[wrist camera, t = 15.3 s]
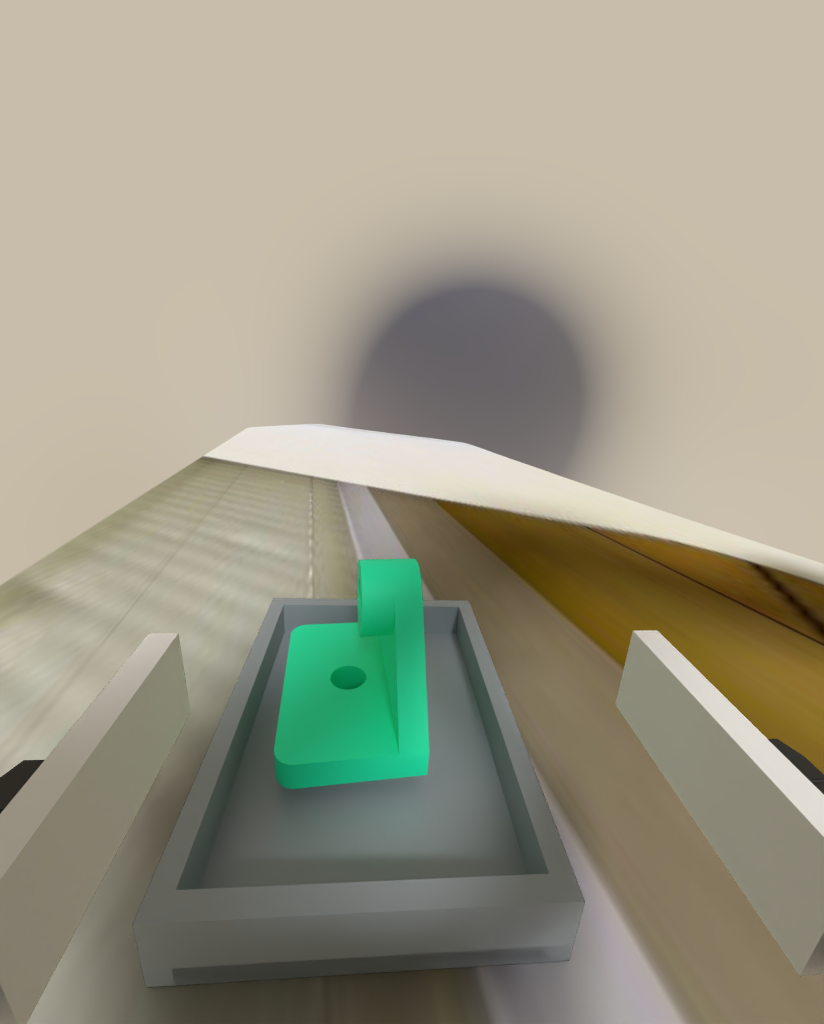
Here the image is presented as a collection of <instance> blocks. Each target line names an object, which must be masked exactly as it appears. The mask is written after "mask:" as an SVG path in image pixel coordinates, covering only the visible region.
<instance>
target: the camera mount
mask: <svg viewBox="0 0 824 1024" xmlns="http://www.w3.org/2000/svg"><path fill="white" fill-rule="evenodd" d="M357 611H358V623H335V624H310V625H302V626H299V627H297V628H295V629H294V630H293V631H292V632H291V637H290V644H289V651H288V658H287V664H286V671H285V678H284V685H283V692H282V699H281V705H280V712H279V719H278V726H277V733H276V740H275V746H274V759H275V776H276V780H277V781H278V783H279V784H280V785H281V786H283V787H285V788H289V789H298V788H308V787H317V786H327V785H336V784H346V783H355V782H365V781H374V780H384V779H393V778H403V777H412V776H422V775H427V771H428V760H429V734H428V711H427V688H426V664H425V641H424V618H423V595H422V581H421V574H420V569H419V565H418V562H417V560H416V559H368V560H359V562H358V575H357Z"/></svg>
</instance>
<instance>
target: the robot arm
mask: <svg viewBox="0 0 824 1024" xmlns="http://www.w3.org/2000/svg"><path fill="white" fill-rule="evenodd" d="M615 705H616V706H617V707H618V709H619V710H620V712H621V713H622V715H623V716H624V718H625V719H626V721H627V722H628V724H629V725H630V727H631V728H632V730H633V731H634V733H635V734H636V735H637V737H638V738H639V740H640V741H641V743H642V744H643V746H644V747H645V749H646V750H647V752H648V753H649V755H650V756H651V758H652V759H653V761H654V762H655V763H656V765H657V766H658V768H659V769H660V771H661V772H662V774H663V775H664V777H665V778H666V780H667V781H668V783H669V784H670V786H671V787H672V789H673V790H674V791H675V793H676V794H677V796H678V797H679V799H680V800H681V802H682V803H683V805H684V806H685V808H686V809H687V811H688V812H689V814H690V815H691V817H692V818H693V819H694V821H695V822H696V824H697V825H698V827H699V828H700V830H701V831H702V833H703V834H704V836H705V837H706V839H707V840H708V842H709V843H710V844H711V846H712V847H713V849H714V850H715V852H716V853H717V855H718V856H719V858H720V859H721V861H722V862H723V864H724V865H725V867H726V868H727V870H728V871H729V872H730V874H731V875H732V877H733V878H734V880H735V881H736V883H737V884H738V886H739V887H740V889H741V890H742V892H743V893H744V895H745V896H746V898H747V899H748V900H749V902H750V903H751V905H752V906H753V908H754V909H755V911H756V912H757V914H758V915H759V917H760V918H761V920H762V921H763V923H764V924H765V926H766V927H767V928H768V930H769V931H770V933H771V934H772V936H773V937H774V939H775V940H776V942H777V943H778V945H779V946H780V948H781V949H782V951H783V952H784V954H785V955H786V956H787V958H788V959H789V961H790V962H791V964H792V965H793V967H794V968H795V970H796V971H797V973H798V974H799V976H809V975H822V974H824V775H823V774H822V773H821V772H820V771H819V770H818V769H817V768H816V767H815V766H814V765H813V764H812V763H811V762H810V761H808V760H807V759H806V758H805V757H804V756H802V755H801V754H799V753H798V752H796V751H795V750H793V749H792V748H790V747H789V746H787V745H786V744H784V743H783V742H781V741H780V740H778V739H767V738H766V737H765V736H764V735H763V734H762V733H761V732H760V731H759V730H758V729H757V728H756V727H755V726H754V725H753V724H752V723H751V722H750V721H749V720H748V719H747V718H745V717H744V716H743V715H742V714H741V713H740V712H739V711H738V710H737V709H736V708H735V707H734V706H733V705H732V704H731V703H730V702H729V701H728V700H727V699H726V698H725V697H724V696H723V695H722V694H721V693H720V692H719V691H718V690H717V689H716V688H715V687H714V686H713V685H712V684H711V683H710V682H709V681H708V680H707V679H706V678H705V677H704V676H703V675H702V674H701V673H700V672H699V671H698V670H697V669H696V668H695V667H694V666H693V665H692V664H691V663H690V662H689V661H688V660H687V659H686V658H685V657H684V656H683V655H682V654H681V653H680V652H679V651H678V650H677V649H676V648H675V647H674V646H672V645H671V644H670V643H669V642H668V641H667V640H666V639H665V638H664V637H663V636H662V635H661V634H660V633H659V632H658V631H633V633H632V637H631V641H630V645H629V650H628V654H627V658H626V662H625V666H624V671H623V675H622V679H621V683H620V687H619V692H618V696H617V700H616V704H615ZM189 715H190V706H189V700H188V693H187V687H186V680H185V674H184V667H183V661H182V654H181V647H180V641H179V634H178V633H149V635H148V636H147V637H146V638H145V639H144V641H143V642H142V643H141V644H140V645H139V647H138V648H137V649H136V650H135V651H134V653H133V654H132V655H131V656H130V658H129V659H128V660H127V661H126V662H125V664H124V665H123V666H122V667H121V668H120V670H119V671H118V672H117V673H116V674H115V676H114V677H113V678H112V679H111V681H110V682H109V683H108V684H107V685H106V687H105V688H104V689H103V690H102V691H101V693H100V694H99V695H98V696H97V697H96V699H95V700H94V701H93V702H92V704H91V705H90V706H89V707H88V708H87V710H86V711H85V712H84V713H83V714H82V716H81V717H80V718H79V719H78V720H77V722H76V723H75V724H74V725H73V727H72V728H71V729H70V730H69V731H68V733H67V734H66V735H65V736H64V737H63V739H62V740H61V741H60V742H59V743H58V745H57V746H56V747H55V748H54V750H53V751H52V752H51V753H50V754H49V756H48V757H47V758H46V759H45V760H24V761H22V762H21V763H20V764H18V765H17V766H15V767H14V768H13V769H11V770H10V771H9V772H7V773H6V774H5V775H3V776H2V777H0V1024H27V1022H28V1020H29V1018H30V1016H31V1014H32V1012H33V1010H34V1008H35V1006H36V1005H37V1003H38V1001H39V999H40V997H41V995H42V993H43V991H44V989H45V988H46V986H47V984H48V982H49V980H50V978H51V976H52V974H53V972H54V970H55V969H56V967H57V965H58V963H59V961H60V959H61V957H62V955H63V953H64V952H65V950H66V948H67V946H68V944H69V942H70V940H71V938H72V936H73V934H74V933H75V931H76V929H77V927H78V925H79V923H80V921H81V919H82V917H83V916H84V914H85V912H86V910H87V908H88V906H89V904H90V902H91V900H92V898H93V897H94V895H95V893H96V891H97V889H98V887H99V885H100V883H101V881H102V879H103V878H104V876H105V874H106V872H107V870H108V868H109V866H110V864H111V862H112V861H113V859H114V857H115V855H116V853H117V851H118V849H119V847H120V845H121V843H122V842H123V840H124V838H125V836H126V834H127V832H128V830H129V828H130V826H131V825H132V823H133V821H134V819H135V817H136V815H137V813H138V811H139V809H140V807H141V806H142V804H143V802H144V800H145V798H146V796H147V794H148V792H149V790H150V789H151V787H152V785H153V783H154V781H155V779H156V777H157V775H158V773H159V771H160V770H161V768H162V766H163V764H164V762H165V760H166V758H167V756H168V754H169V752H170V751H171V749H172V747H173V745H174V743H175V741H176V739H177V737H178V735H179V734H180V732H181V730H182V728H183V726H184V724H185V722H186V720H187V718H188V716H189Z"/></svg>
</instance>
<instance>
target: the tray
mask: <svg viewBox="0 0 824 1024" xmlns="http://www.w3.org/2000/svg"><path fill="white" fill-rule="evenodd" d="M423 618H424V641H425V664H426V688H427V711H428V734H429V760H428V771H427V775H422V776H412V777H403V778H393V779H384V780H374V781H365V782H355V783H346V784H336V785H327V786H317V787H308V788H298V789H289V788H285V787H283V786H281V785H280V784H279V783H278V781H277V780H276V776H275V759H274V746H275V740H276V733H277V726H278V719H279V712H280V705H281V699H282V692H283V685H284V678H285V671H286V664H287V658H288V651H289V644H290V637H291V632H292V631H293V630H294V629H295V628H297V627H299V626H302V625H310V624H335V623H358V611H357V599H304V598H273V600H272V602H271V605H270V607H269V609H268V612H267V614H266V616H265V618H264V621H263V623H262V625H261V628H260V630H259V632H258V635H257V637H256V639H255V642H254V644H253V646H252V649H251V651H250V653H249V656H248V658H247V660H246V662H245V665H244V667H243V669H242V672H241V674H240V676H239V679H238V681H237V683H236V686H235V688H234V690H233V693H232V695H231V697H230V700H229V702H228V704H227V706H226V709H225V711H224V713H223V716H222V718H221V720H220V723H219V725H218V727H217V730H216V732H215V734H214V737H213V739H212V741H211V744H210V746H209V748H208V751H207V753H206V755H205V757H204V760H203V762H202V764H201V767H200V769H199V771H198V774H197V776H196V778H195V781H194V783H193V785H192V788H191V790H190V792H189V795H188V797H187V799H186V801H185V804H184V806H183V808H182V811H181V813H180V815H179V818H178V820H177V822H176V825H175V827H174V829H173V832H172V834H171V836H170V839H169V841H168V843H167V845H166V848H165V850H164V852H163V855H162V857H161V859H160V862H159V864H158V866H157V869H156V871H155V873H154V876H153V878H152V880H151V883H150V885H149V887H148V890H147V892H146V894H145V896H144V899H143V901H142V903H141V906H140V908H139V910H138V913H137V915H136V917H135V920H134V922H133V924H132V925H133V930H134V934H135V939H136V944H137V948H138V953H139V958H140V962H141V967H142V972H143V976H144V981H145V986H146V987H158V986H174V985H190V984H206V983H222V982H238V981H253V980H269V979H285V978H301V977H317V976H333V975H349V974H365V973H381V972H397V971H413V970H429V969H445V968H461V967H477V966H493V965H508V964H524V963H540V962H556V961H569V959H570V955H571V952H572V948H573V944H574V941H575V937H576V933H577V930H578V926H579V922H580V919H581V915H582V911H583V908H584V904H585V900H584V898H583V895H582V892H581V890H580V887H579V885H578V882H577V879H576V877H575V874H574V872H573V869H572V867H571V864H570V861H569V859H568V856H567V854H566V851H565V848H564V846H563V843H562V841H561V838H560V835H559V833H558V830H557V828H556V825H555V823H554V820H553V817H552V815H551V812H550V810H549V807H548V804H547V802H546V799H545V797H544V794H543V791H542V789H541V786H540V784H539V781H538V779H537V776H536V773H535V771H534V768H533V766H532V763H531V760H530V758H529V755H528V753H527V750H526V748H525V745H524V742H523V740H522V737H521V735H520V732H519V729H518V727H517V724H516V722H515V719H514V716H513V714H512V711H511V709H510V706H509V704H508V701H507V698H506V696H505V693H504V691H503V688H502V685H501V683H500V680H499V678H498V675H497V672H496V670H495V667H494V665H493V662H492V660H491V657H490V654H489V652H488V649H487V647H486V644H485V641H484V639H483V636H482V634H481V631H480V628H479V626H478V623H477V621H476V618H475V616H474V613H473V610H472V608H471V605H470V603H469V601H452V600H423Z"/></svg>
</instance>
